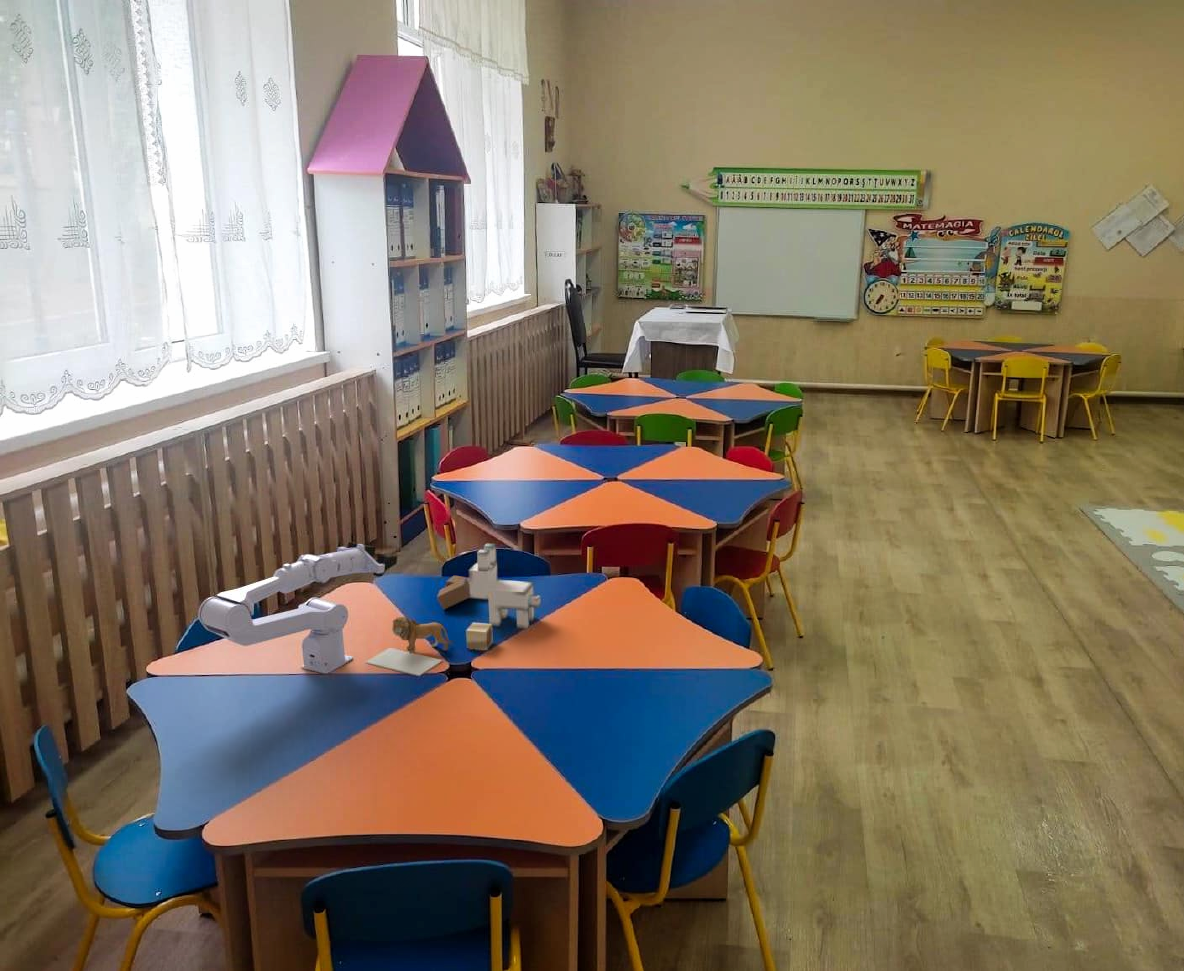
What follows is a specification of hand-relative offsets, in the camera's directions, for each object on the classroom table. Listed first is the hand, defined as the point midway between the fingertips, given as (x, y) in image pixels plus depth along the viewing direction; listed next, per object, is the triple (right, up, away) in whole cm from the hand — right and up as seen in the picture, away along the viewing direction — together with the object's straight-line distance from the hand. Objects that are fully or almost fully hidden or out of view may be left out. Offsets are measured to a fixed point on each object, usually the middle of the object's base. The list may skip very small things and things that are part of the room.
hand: (384, 555), depth 244 cm
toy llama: (+30, -18, +12) cm, 37 cm away
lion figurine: (+10, -23, -6) cm, 26 cm away
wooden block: (+17, -15, +27) cm, 35 cm away
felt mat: (+7, -25, -12) cm, 28 cm away
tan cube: (+24, -22, -3) cm, 33 cm away
